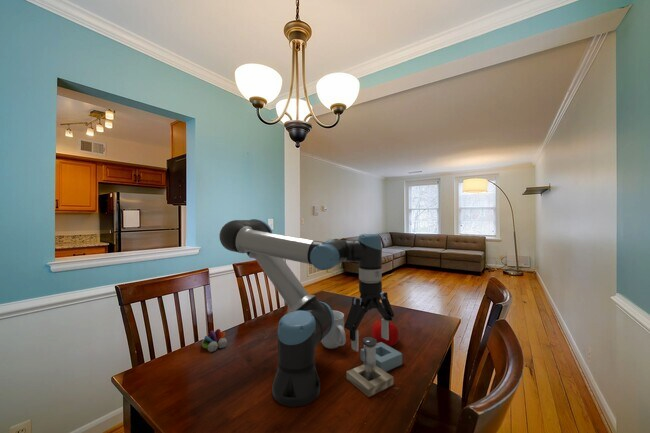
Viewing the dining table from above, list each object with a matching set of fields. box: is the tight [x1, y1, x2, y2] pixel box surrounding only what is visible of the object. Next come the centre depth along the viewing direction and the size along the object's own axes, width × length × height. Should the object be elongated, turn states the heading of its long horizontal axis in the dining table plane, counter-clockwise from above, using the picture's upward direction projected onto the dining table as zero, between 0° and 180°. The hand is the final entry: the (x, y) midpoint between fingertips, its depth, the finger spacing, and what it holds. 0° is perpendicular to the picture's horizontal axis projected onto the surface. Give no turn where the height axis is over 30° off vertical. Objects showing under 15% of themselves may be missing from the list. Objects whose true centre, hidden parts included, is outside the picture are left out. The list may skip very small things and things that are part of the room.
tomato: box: [370, 319, 399, 348], centre depth 115 cm, size 12×12×10 cm
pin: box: [362, 336, 377, 381], centre depth 89 cm, size 5×5×14 cm
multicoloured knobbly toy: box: [201, 328, 228, 353], centre depth 112 cm, size 8×10×7 cm
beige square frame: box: [345, 363, 394, 398], centre depth 89 cm, size 11×11×2 cm
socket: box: [359, 342, 403, 373], centre depth 101 cm, size 11×11×4 cm
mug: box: [320, 310, 347, 350], centre depth 112 cm, size 15×11×13 cm
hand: (370, 344), depth 89 cm, fingers open, 13 cm apart
